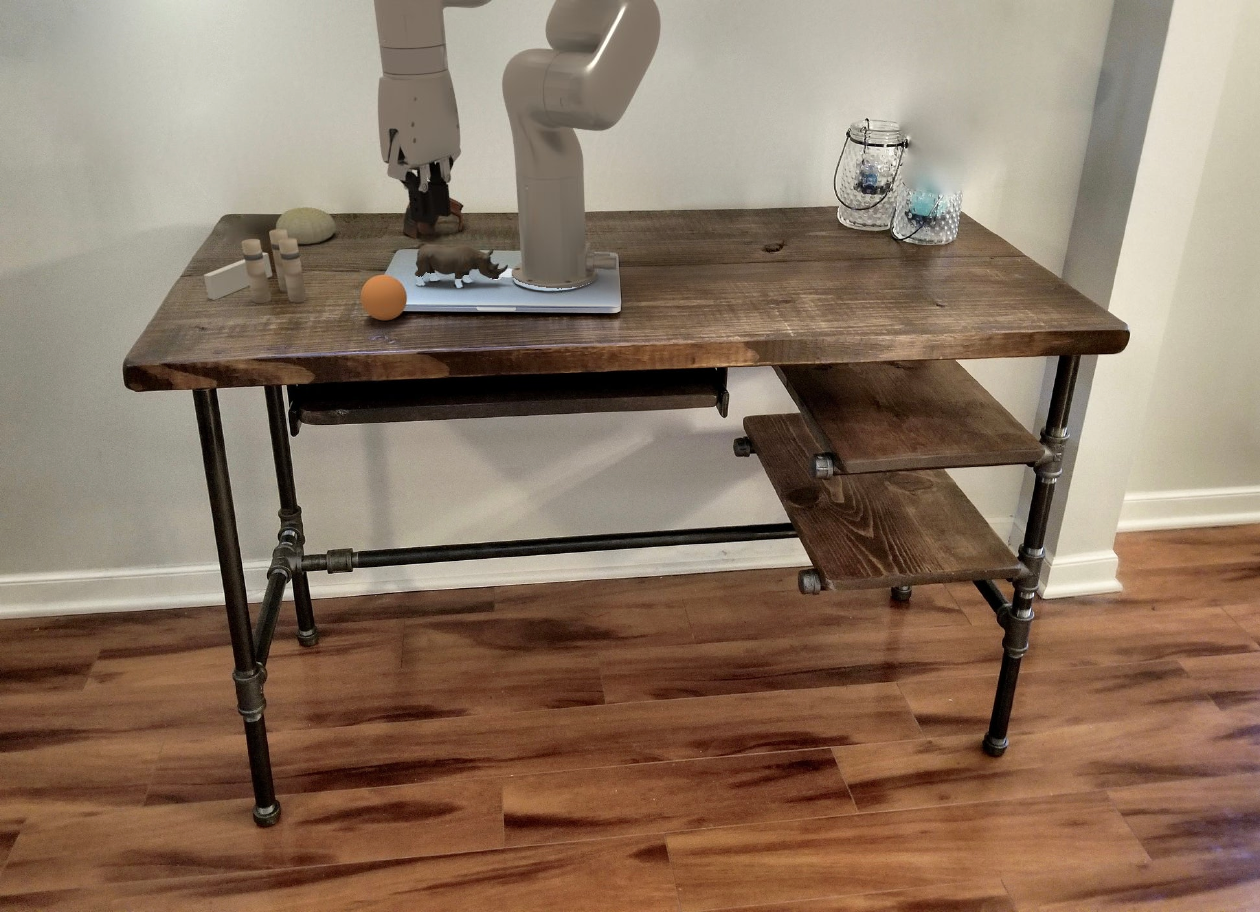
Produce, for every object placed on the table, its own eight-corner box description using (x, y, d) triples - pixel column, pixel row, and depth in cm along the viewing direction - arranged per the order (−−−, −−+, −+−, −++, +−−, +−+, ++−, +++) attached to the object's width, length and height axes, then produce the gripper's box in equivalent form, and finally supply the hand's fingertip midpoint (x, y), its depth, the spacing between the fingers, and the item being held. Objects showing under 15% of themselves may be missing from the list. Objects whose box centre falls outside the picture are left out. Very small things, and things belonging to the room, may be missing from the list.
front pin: (309, 296, 147) (299, 238, 143) (303, 302, 145) (292, 244, 141) (292, 296, 147) (282, 237, 143) (286, 302, 145) (275, 243, 141)
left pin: (274, 297, 147) (263, 239, 143) (267, 303, 145) (255, 244, 141) (257, 296, 147) (245, 238, 143) (249, 303, 145) (237, 244, 141)
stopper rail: (272, 276, 155) (268, 253, 153) (214, 300, 146) (209, 276, 145) (266, 274, 155) (262, 252, 154) (208, 298, 147) (203, 275, 145)
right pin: (300, 286, 151) (290, 229, 147) (293, 292, 149) (283, 234, 145) (283, 285, 151) (272, 228, 147) (276, 291, 149) (265, 234, 145)
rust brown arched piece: (401, 228, 177) (419, 183, 175) (453, 251, 179) (471, 207, 177) (392, 231, 165) (412, 182, 164) (448, 256, 167) (468, 208, 165)
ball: (414, 311, 142) (409, 269, 139) (401, 328, 137) (396, 284, 134) (372, 309, 142) (366, 268, 139) (357, 326, 137) (351, 283, 134)
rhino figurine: (506, 291, 148) (503, 251, 145) (412, 288, 150) (407, 248, 147) (512, 281, 152) (509, 241, 149) (421, 278, 153) (416, 239, 150)
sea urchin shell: (324, 237, 165) (285, 201, 163) (298, 269, 169) (259, 233, 167) (349, 220, 173) (312, 185, 171) (323, 251, 177) (286, 217, 175)
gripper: (432, 49, 127) (446, 198, 136) (341, 69, 115) (364, 232, 124) (482, 53, 124) (494, 205, 133) (394, 74, 111) (414, 241, 121)
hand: (431, 217), depth 128 cm, fingers open, 2 cm apart
